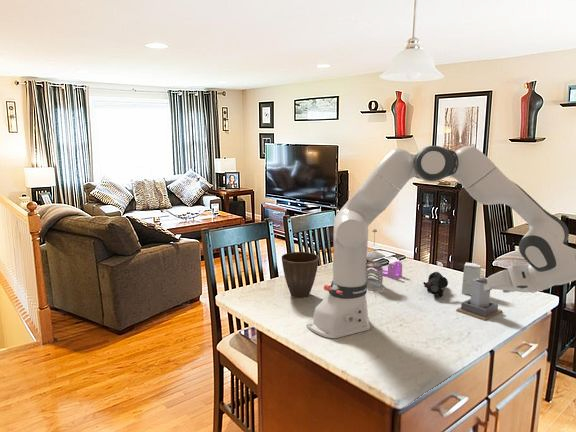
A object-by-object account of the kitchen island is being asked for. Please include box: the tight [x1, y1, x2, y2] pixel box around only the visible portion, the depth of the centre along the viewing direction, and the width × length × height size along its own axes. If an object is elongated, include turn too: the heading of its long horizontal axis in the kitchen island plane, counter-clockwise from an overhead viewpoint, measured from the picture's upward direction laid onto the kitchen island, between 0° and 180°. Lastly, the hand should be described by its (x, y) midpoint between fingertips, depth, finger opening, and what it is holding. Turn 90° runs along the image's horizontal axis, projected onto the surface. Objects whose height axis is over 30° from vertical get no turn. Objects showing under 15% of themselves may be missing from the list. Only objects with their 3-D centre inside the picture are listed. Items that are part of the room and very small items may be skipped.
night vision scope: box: [422, 271, 449, 298], centre depth 180 cm, size 8×18×10 cm
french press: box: [366, 228, 386, 291], centre depth 185 cm, size 10×12×25 cm
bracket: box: [373, 260, 403, 280], centre depth 203 cm, size 13×6×7 cm, turn 40°
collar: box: [455, 298, 503, 321], centre depth 160 cm, size 12×11×3 cm
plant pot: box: [281, 251, 320, 299], centre depth 177 cm, size 15×15×16 cm
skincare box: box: [461, 262, 482, 296], centre depth 178 cm, size 6×4×12 cm
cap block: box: [470, 276, 491, 309], centre depth 159 cm, size 4×4×12 cm
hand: (494, 289), depth 148 cm, fingers open, 8 cm apart
